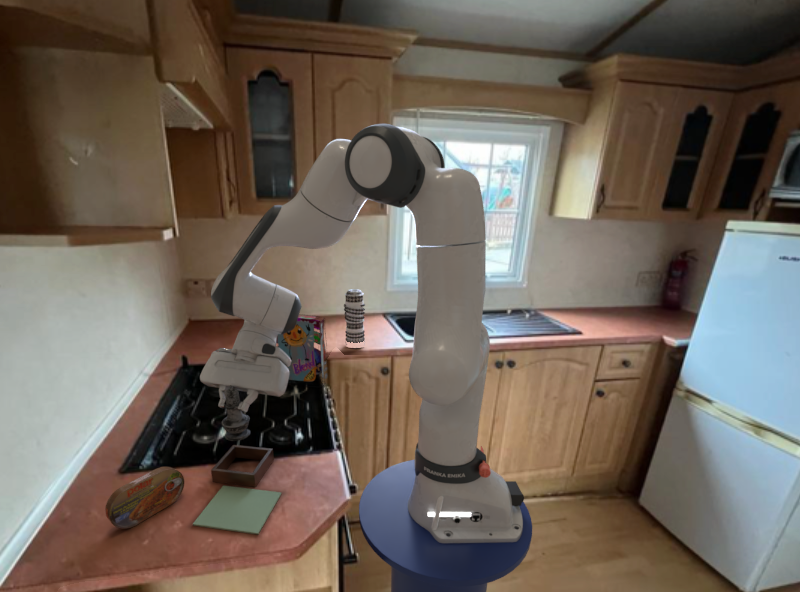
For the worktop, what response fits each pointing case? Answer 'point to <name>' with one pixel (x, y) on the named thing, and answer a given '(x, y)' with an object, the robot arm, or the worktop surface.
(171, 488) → the tin
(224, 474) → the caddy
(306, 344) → the box
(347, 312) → the decorative candle
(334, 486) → the worktop surface
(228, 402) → the grey chess piece
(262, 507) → the mat
